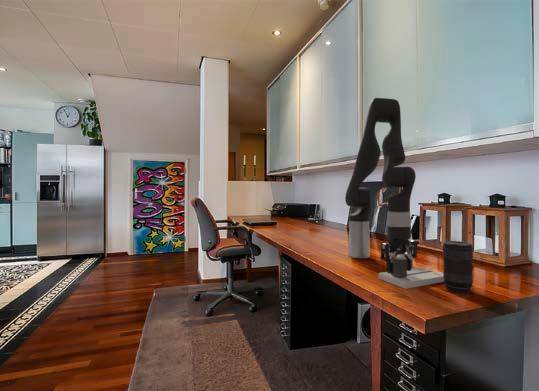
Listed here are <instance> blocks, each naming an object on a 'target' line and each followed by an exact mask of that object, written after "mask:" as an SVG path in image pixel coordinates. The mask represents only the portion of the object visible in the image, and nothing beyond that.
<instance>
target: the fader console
mask: <svg viewBox="0 0 539 391" xmlns="http://www.w3.org/2000/svg"><path fill="white" fill-rule="evenodd" d="M378 279H379V280H381V281H384V282H387V283H389V284H392V285H394V286H397V287H399V288H401V289H412V288H418V287H423V286H428V285H434V284H439V283H444V277H443V271H442V272H441V271H439V270H434V269H431V268H427V267H425V266H419V267H413V268H412V269H411V271H407V277H403V278H399V277H396V276H393V275H391V274H390V273H388V272H387V271H383V272H378Z"/></svg>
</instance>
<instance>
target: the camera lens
mask: <svg viewBox="0 0 539 391" xmlns="http://www.w3.org/2000/svg"><path fill="white" fill-rule="evenodd" d="M472 244H473V243H471V242H466V241H457V240H455V241H454V240H447V241H443V242H442V259H443V260H442V262H443V269H442V270H443V271H442V273H443V277H444V282H443V283H444V286H445V289H446V290H448V291H450V292H453V293H458V294H469V293H471V288H472V287H473V282H474V274H473V270H474V265H473V259H474V250H473V249H474V248H473V245H472Z"/></svg>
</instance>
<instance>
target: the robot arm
mask: <svg viewBox="0 0 539 391" xmlns="http://www.w3.org/2000/svg"><path fill="white" fill-rule="evenodd" d="M401 115H402V114H401V106H400V103H399V100H398V99H394V98H386V97H374V98H372V100H371V101H370V102H369V105H368V110H367V114H366V120H365V125H364V130H363V136H362V139H361V141H360V145H359V149H358V152H357V155H356V159H355V165H354V168H353V171H352V176H351V178H350V181H349V183H348V186H347V189H346V192H345V198H344V200H345V203H346V205H347V206H348V207H350V208H351V207H353V208H355V207H359V208H358V210H356V211H355V212H353V213H351V214H349V216H348V217H349V219H348V221H349V222H348V224H349V225H348V226H349V228H348V229H349V231H348V232H349V235H348V240H347V242H348V252H347V253H348V256H349V257H350V258H353V259H354V258H356V259H368V258H370V257H371V256H370V248H371V247H370V216H371V203H372V195H371V194H372V193H371V190H370V189H369V188H368V187H361V185H362V183H363V182H364V181H365V180H366V179H367V178H368V177H369V176H370V175H371V174H372V173H373V172H374V171H375V170H376V168H377V167H378V165H379V161H380V157H381V154H382V155H383V161H384V162H383V170H382V176H381V180H382V184H383V185H384V186H385V187H387V188H401V191H399V192H398V193H393V194H390V195H389V196H388V197H387V216H386V221H387V222H386V225H387V226H386V236H387V238H388V242H381V243H380V260H381V261H383V262H385V269H386V271H385V272H388V273H390V274H393V263H392V262H393V261H394V259H395V258H396V257H397V255H400V254H403V255H404V257H405V259H407V271H411V269H412V260H413V261H414V258H415V259H416V258H417V257H418V252H417V251H418V250H417V248H418V246H417V240H413V239H412V240H409V239H410V238H411V233H412V218H411V196H412V192H413V188H414V185H415V182H416V179H417V178H416V177H417V175H416V171H415V169H414V168H413V167H411V166H401V165H403V164H404V163H405V161H406V153H405V150H404V146H403V144H404V143H403V140H402V119H401V118H402V116H401ZM377 123H385V124H386V123H387V124H389V130H388V132H387V133H386V135H385V136H384V138H383V140H382V143H381V146H380V144H379V141H378V139H377V136H376V135H377V134H376V125H377ZM381 149H382V151H381ZM381 152H382V153H381ZM408 247H409V248H408ZM412 251H413V254H412Z"/></svg>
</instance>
